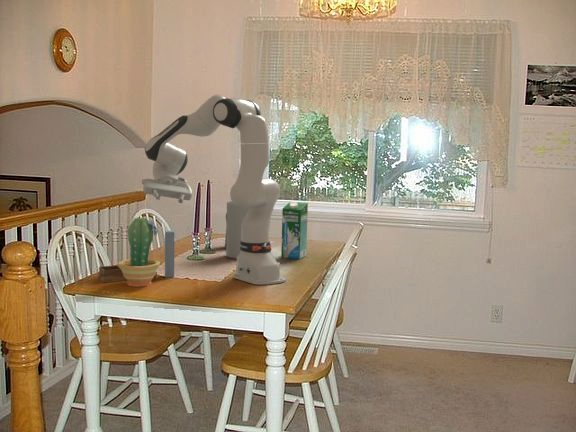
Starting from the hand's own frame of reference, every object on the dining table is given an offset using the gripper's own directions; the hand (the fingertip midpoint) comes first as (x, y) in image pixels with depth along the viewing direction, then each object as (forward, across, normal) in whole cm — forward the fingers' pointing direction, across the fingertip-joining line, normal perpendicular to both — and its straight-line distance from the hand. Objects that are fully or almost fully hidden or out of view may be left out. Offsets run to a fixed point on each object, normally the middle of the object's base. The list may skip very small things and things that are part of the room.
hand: (169, 199), depth 270 cm
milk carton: (-2, +65, +21) cm, 68 cm away
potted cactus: (+32, -11, +20) cm, 39 cm away
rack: (+23, -13, +24) cm, 36 cm away
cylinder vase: (-7, +41, +28) cm, 50 cm away
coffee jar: (-28, +46, +37) cm, 65 cm away
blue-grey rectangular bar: (+23, +2, +21) cm, 32 cm away
